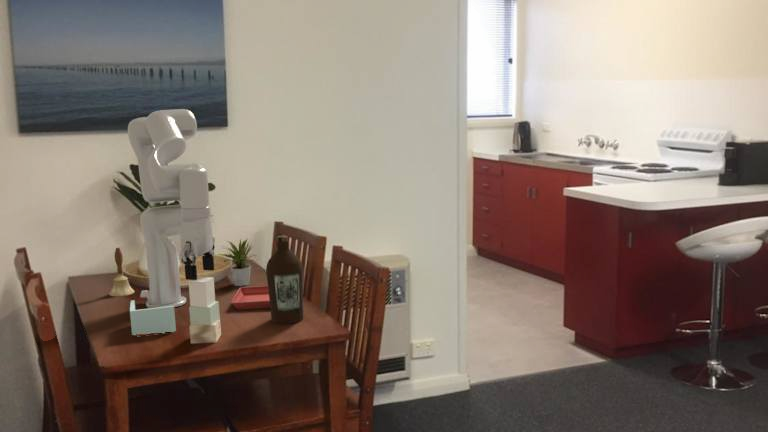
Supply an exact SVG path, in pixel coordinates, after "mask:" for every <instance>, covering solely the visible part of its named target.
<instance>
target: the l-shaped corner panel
mask: <svg viewBox="0 0 768 432" xmlns="http://www.w3.org/2000/svg"><path fill="white" fill-rule="evenodd" d="M175 315H176V314H175V307H174V306H167V307H158V308H141V309H136V301H135V299H134V300H130V306H129V317H130V327H131V336H132V335H136V334H138V335H139V334H150V333H162V334H166V333H165V332H171V333H176V332H177V327H176V317H175ZM175 331H176V332H175Z"/></svg>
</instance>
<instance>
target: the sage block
mask: <svg viewBox="0 0 768 432" xmlns="http://www.w3.org/2000/svg"><path fill="white" fill-rule="evenodd" d="M219 303H220V302H219V301H218V300H215V303H213V304H212V305H210V306H208V307H191V306H189V307H188V309H189V321H190V322H189V323H190V325H212V324H214V323H215V322H216V321H217V320H219V319H220V320H221V315H220V304H219Z"/></svg>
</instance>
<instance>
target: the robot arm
mask: <svg viewBox="0 0 768 432" xmlns="http://www.w3.org/2000/svg"><path fill="white" fill-rule="evenodd" d="M197 122H198V121H197V119H196V116H195V115H194V113H193V112H192V111H191V110H189V109H186V108H179V109H178V108H174V109H160V110H156V111H153V112H151V113H150V114H148V116H143V117H137V118H135V119H131V120H130V122H129V123H128V126H127V135H128V140H129V143H130V146H131V148H132V150H133V152H134V154H135V156H136V159H137V164H138V166H137V167H138V174H139V180H140V189H141V193H142V194H141V195H142V198H143V200H144V201H145V202H147V203H151V204H153V203H154V204H155V203H166V202H173V201H175V202H176V201H177V202H178V203H179V204H172V205H163V206H161V205H160V206H154V207H150V208H147V209H145V210H144V211H142V212H141V214H140V218H139V221H140V228H141V232H142V235H143V239H144V245H145V255H146V264H147V274H148V284H149V290H146V289H145V290H143V289H142V290H141V292H140V296H139V297H140V298H146V299H147V300H146V302H145V306H146V307H147V309H149V308H158V307H167V306H174V308H177V307H181V306H183V305H184V304H186V302H187V297H186V296H183V295H182V293H181V282H180V281H181V280H180V269H179V258H178V249H177V246H176V245H175V244H174V243H173V242H172V241H171V240H170V239H169V238H168V237H171V236H177V235H180V253H179V254H180V257H181V261H182V264H183V266H184V272H185V273H184V274H185V280H188V281H190V280H196V279H197V277H198V270H197V265H196V264H195V263H196V262H197V261H196V260H197V257H198V258H199V257H201V256H202V257H201V259H202V260H201V261H202V270H203V271H214V270H215V258H214V256H215V247H216V245H215V243H216V242H215V241H216V238H215V237H214V236H213V230H212V223H211V209H210V207H211V206H210V193H209V180H208V179H209V178H208V177H209V176H208V171H207V169H206V168H204V167H203V166H202V164H199V163H195V162H193V163H191V162H190V163H181V164H169V163H171V162H174V161H175V160H177V159H179V158H180V157H181V156H182V155H183V154H184V153H185V151H186V149H187V143H186V141H188V140H190V139H192V138H193V137H194V136H195V135H196V133H197V130H198V123H197ZM167 164H169V165H167Z"/></svg>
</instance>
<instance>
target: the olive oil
mask: <svg viewBox="0 0 768 432" xmlns="http://www.w3.org/2000/svg"><path fill="white" fill-rule="evenodd" d="M276 240H277V241H276V245H277V246H276V247H277V250H275V252H274V253H273V254H272V255H271V257H270V258H269V259H268V261H267V263H266V266H265V267H266V269H265V271H266V273H265V274H266V281H267V286H268V291H269V299H270V308H269V309H270V316H271V317H270V318H271V322H273V324H274V323H275V324H278V325H279V324H280V325H288V324H290V325H291V324H296V323H299V322H301V321H302V320H304V282H303V281H304V269H303V263H302V261H301V258H299V257H298V256H297V255H296V254H295V253H294V252H293V251H292V250H291V249H290V245H289V244H290V243H289V242H290V241H289V236H288V235H277V236H276Z"/></svg>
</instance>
